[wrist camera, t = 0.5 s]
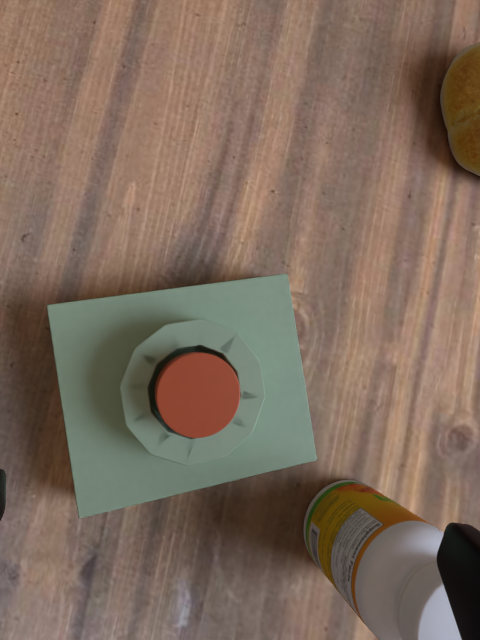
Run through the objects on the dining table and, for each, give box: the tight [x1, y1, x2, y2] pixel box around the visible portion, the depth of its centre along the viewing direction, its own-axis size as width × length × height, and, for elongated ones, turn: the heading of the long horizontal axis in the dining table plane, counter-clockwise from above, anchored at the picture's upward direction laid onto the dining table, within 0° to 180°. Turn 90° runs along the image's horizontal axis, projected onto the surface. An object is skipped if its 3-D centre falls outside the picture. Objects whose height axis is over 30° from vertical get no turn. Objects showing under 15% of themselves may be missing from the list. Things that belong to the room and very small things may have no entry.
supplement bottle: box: [303, 480, 462, 640], centre depth 21 cm, size 5×5×10 cm
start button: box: [155, 352, 240, 438], centre depth 19 cm, size 4×4×2 cm
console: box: [47, 274, 317, 518], centre depth 22 cm, size 10×12×4 cm
